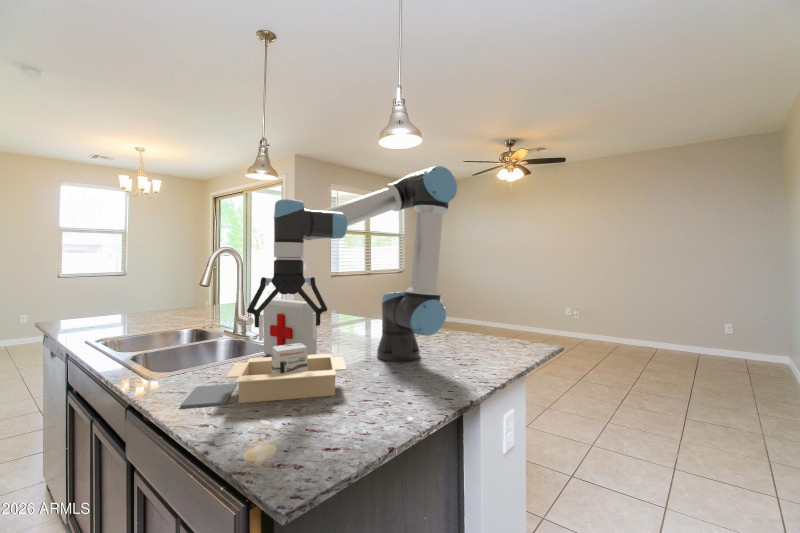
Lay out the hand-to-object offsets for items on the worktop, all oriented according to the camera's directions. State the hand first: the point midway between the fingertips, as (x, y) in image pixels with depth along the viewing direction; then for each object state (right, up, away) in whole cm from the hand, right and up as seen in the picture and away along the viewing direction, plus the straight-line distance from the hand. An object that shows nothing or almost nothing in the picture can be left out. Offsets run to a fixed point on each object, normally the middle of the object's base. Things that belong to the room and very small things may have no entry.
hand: (288, 338), depth 100 cm
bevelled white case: (-9, -13, +31) cm, 35 cm away
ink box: (0, -14, +1) cm, 14 cm away
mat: (-19, -14, -4) cm, 24 cm away
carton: (0, -14, +1) cm, 14 cm away
